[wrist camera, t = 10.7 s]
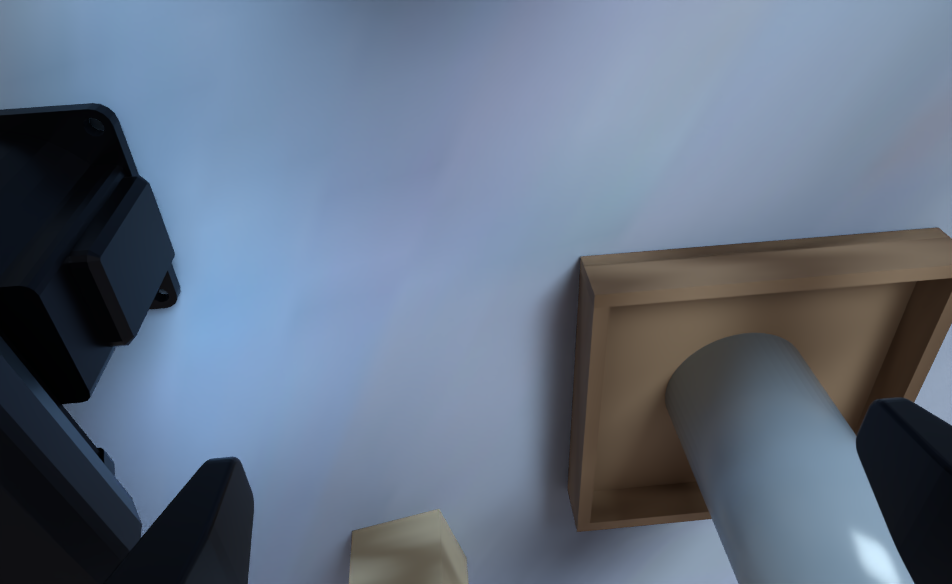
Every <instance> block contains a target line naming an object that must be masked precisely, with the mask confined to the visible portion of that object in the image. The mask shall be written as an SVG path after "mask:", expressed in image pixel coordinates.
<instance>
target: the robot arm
mask: <svg viewBox="0 0 952 584" xmlns="http://www.w3.org/2000/svg"><path fill="white" fill-rule="evenodd" d="M89 118H93V119H97V120H98V121H100V122H101V123H102V124H103V126H104V130H97V129H96V128H94V127H93V126H92V125H91V123H90V122H89ZM174 256H175V253H174V250H173V247H172V244H171V241H170V239H169V236H168V233H167V230H166V228H165V225H164V222H163V219H162V217H161V214H160V211H159V208H158V205H157V203H156V200H155V197H154V194H153V192H152V189H151V186H150V184H149V183H148V182H147V181H146V180H145V179H144V178H142V177H141V176H139V174H138V171H137V169H136V166H135V163H134V160H133V158H132V155H131V152H130V150H129V147H128V144H127V141H126V139H125V136H124V133H123V131H122V128H121V125H120V123H119V120H118V118H117V117H116V115H115V113H114V112H113V111H111V110H110V109H109V108H108V107H106V106H103V105H101V104H94V103H90V104H75V105H61V106H47V107H33V108H19V109H5V110H0V584H248V572H249V561H250V549H251V538H252V526H253V515H254V498H253V493H252V490H251V487H250V485H249V482H248V479H247V477H246V474H245V471H244V469H243V466H242V463H241V462H240V460H239V459H238V458H236V457H224V458H213V459H209V460H207V461H206V462H205V463H204V464H203V465H202V466H201V467H200V468H199V469H198V471H197V472H196V473H195V474H194V475H193V477H192V478H191V479H190V480H189V481H188V483H187V484H186V485H185V486H184V487H183V489H182V490H181V491H180V492H179V493H178V494H177V496H176V497H175V498H174V499H173V500H172V502H171V503H170V504H169V505H168V506H167V508H166V509H165V510H164V511H163V512H162V514H161V515H160V516H159V517H158V518H157V520H156V521H155V522H154V523H153V524H152V526H151V527H150V528H149V529H148V530H147V532H146V533H145V534H144V535H143V536H142V537H141V528H142V524H141V521H140V518H139V516H138V513H137V510H136V508H135V505H134V502H133V500H132V497H131V496H130V495H129V494H128V493H127V491H126V490H125V489H124V488H123V486H122V485H121V484H120V483H119V481H118V480H117V479H116V478H115V468H114V462H113V461H112V459H111V458H110V457H109V456H108V454H107V453H106V452H105V451H104V449H102V448H96V446H95V445H94V444H93V443H92V441H91V440H90V439H89V438H88V436H87V435H86V434H85V433H84V431H83V430H82V429H81V428H80V427H79V425H78V424H77V423H76V422H75V420H74V419H73V418H72V417H71V415H70V414H69V413H68V412H67V410H66V409H65V408H64V407H63V405H62V404H69V403H80V402H84V401H88V399H89V398H90V397H91V395H92V393H93V391H94V389H95V387H96V385H97V383H98V381H99V379H100V377H101V375H102V373H103V371H104V369H105V367H106V365H107V363H108V361H109V359H110V357H111V355H112V353H113V351H114V350H115V348H116V346H126V345H129V344H130V343H131V342H132V340H133V339H134V338H135V337H136V335H137V333H138V331H139V329H140V327H141V324H142V322H143V320H144V318H145V316H146V314H147V312H148V310H149V309H159V308H167V307H171V306H172V305H174V304H175V303H176V301H177V298H178V296H179V294H180V285H179V282H178V280H177V277H176V274H175V271H174V269H173V266H172V263H171V262H172V260H173V258H174ZM158 289H163V290H165V291H166V292H167V293H168V294H161V293H160V292H158ZM856 450H857V454H858V457H859V459H860V461H861V464H862V466H863V469H864V471H865V474H866V476H867V479H868V481H869V484H870V486H871V489H872V491H873V493H874V496H875V498H876V501H877V503H878V506H879V508H880V511H881V513H882V516H883V518H884V520H885V523H886V525H887V528H888V530H889V533H890V535H891V537H892V540H893V542H894V544H895V546H896V549H897V551H898V553H899V555H900V557H901V559H902V561H903V563H904V565H905V567H906V569H907V571H908V572H909V574H910V576H911V578H912V580H913V582H914V584H952V425H950V424H948V423H947V422H945V421H943V420H942V419H940V418H938V417H937V416H935V415H933V414H932V413H930V412H928V411H927V410H925V409H924V408H922V407H920V406H919V405H917V404H915V403H914V402H912V401H910V400H908V399H906V398H902V397H894V398H883V399H876V400H874V401H873V402H872V403H871V404H870V406H869V408H868V410H867V412H866V415H865V417H864V419H863V422H862V424H861V426H860V429H859V431H858V434H857V436H856Z"/></svg>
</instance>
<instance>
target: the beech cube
mask: <svg viewBox="0 0 952 584" xmlns="http://www.w3.org/2000/svg"><path fill="white" fill-rule="evenodd" d="M349 584H468V571H467V559H466V556H465V555H464V553H463V551H462V549H461V547H460V546H459V544H458V542H457V540H456V538H455V537H454V535H453V533H452V531H451V529H450V527H449V526H448V524H447V522H446V520H445V518H444V517H443V515H442V513H441V511H440V509H436V510H433V511H429V512H425V513H421V514H417V515H413V516H409V517H405V518H401V519H397V520H393V521H390V522H386V523H382V524H378V525H374V526H370V527H366V528H362V529H358V530H354V531H352V543H351V557H350V572H349Z"/></svg>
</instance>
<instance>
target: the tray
mask: <svg viewBox="0 0 952 584" xmlns="http://www.w3.org/2000/svg"><path fill="white" fill-rule="evenodd" d="M951 324H952V239H951V238H950V237H949V236H948V235H947V234H945V233H944V232H943V231H942V230H941V229H940V228H926V229H914V230H901V231H889V232H877V233H864V234H852V235H840V236H828V237H815V238H803V239H791V240H779V241H766V242H754V243H742V244H729V245H717V246H705V247H693V248H680V249H668V250H656V251H644V252H631V253H619V254H607V255H595V256H582V257H581V260H580V278H579V296H578V313H577V331H576V348H575V366H574V384H573V401H572V419H571V436H570V454H569V472H568V494H569V498H570V503H571V507H572V511H573V516H574V520H575V525H576V529H577V532H582V531H592V530H602V529H613V528H623V527H633V526H644V525H654V524H664V523H674V522H685V521H695V520H705V519H712V518H711V515H710V513H709V511H708V508H707V506H706V503H705V501H704V498H703V496H702V494H701V491H700V489H699V486H698V484H697V481H696V479H695V476H694V474H693V472H692V469H691V467H690V464H689V462H688V459H687V457H686V455H685V452H684V450H683V447H682V445H681V442H680V440H679V438H678V435H677V433H676V430H675V428H674V425H673V423H672V420H671V418H670V416H669V413H668V411H667V408H666V404H665V393H666V388H667V385H668V382H669V380H670V378H671V377H672V375H673V373H674V372H675V371H676V369H677V368H678V367H679V366H680V365H681V364H682V362H684V361H685V360H686V359H687V358H688V357H689V356H690V355H692V354H693V353H695V352H696V351H697V350H699V349H701V348H702V347H704V346H706V345H708V344H710V343H712V342H714V341H717V340H720V339H722V338H725V337H729V336H733V335H738V334H743V333H765V334H771V335H775V336H779V337H781V338H783V339H785V340H787V341H789V342H790V343H792V344H793V345H794V346H795V347H796V348H797V350H798V351H799V352H800V354H801V355H802V357H803V358H804V360H805V361H806V363H807V364H808V365H809V367H810V368H811V370H812V371H813V373H814V374H815V376H816V377H817V379H818V380H819V382H820V383H821V385H822V386H823V387H824V389H825V390H826V392H827V393H828V395H829V396H830V398H831V399H832V401H833V402H834V404H835V405H836V407H837V408H838V409H839V411H840V412H841V414H842V415H843V417H844V418H845V420H846V421H847V423H848V424H849V426H850V427H851V429H852V430H853V431H854V433H855V434H856V436H857V434H858V431H859V429H860V426H861V424H862V422H863V419H864V417H865V415H866V412H867V410H868V408H869V406H870V404H871V403H872V402H873V401H874V400H876V399H883V398H894V397H902V398H906V399H908V400H910V401H912V402H915V400H916V397H917V395H918V393H919V391H920V389H921V387H922V385H923V383H924V381H925V378H926V376H927V374H928V372H929V370H930V368H931V366H932V364H933V362H934V359H935V357H936V355H937V353H938V351H939V349H940V347H941V345H942V343H943V340H944V338H945V336H946V334H947V332H948V330H949V328H950V326H951Z"/></svg>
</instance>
